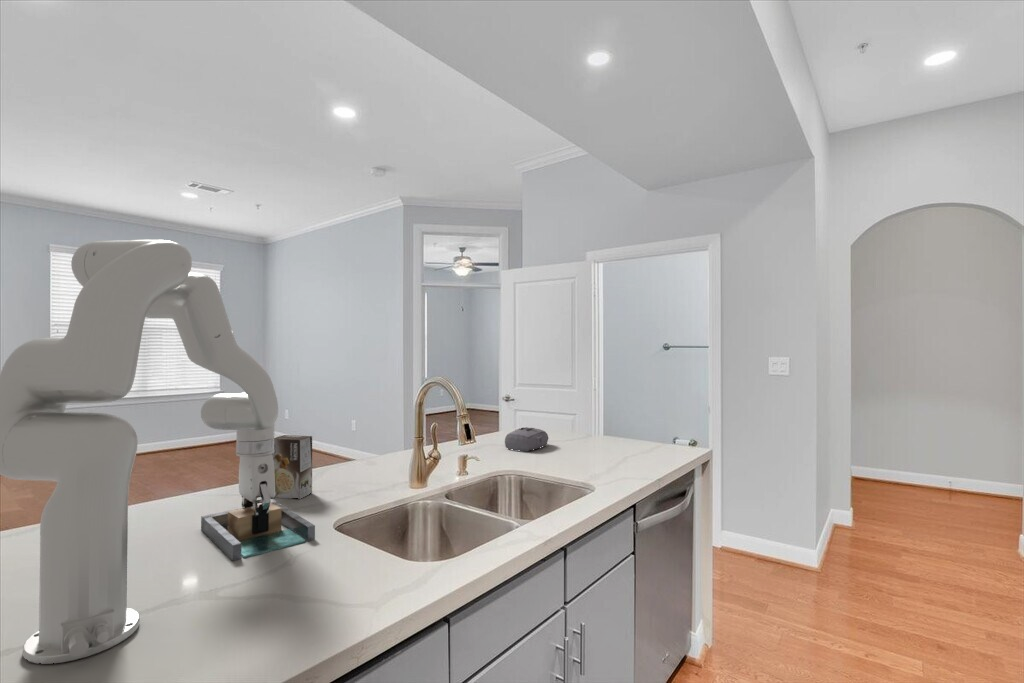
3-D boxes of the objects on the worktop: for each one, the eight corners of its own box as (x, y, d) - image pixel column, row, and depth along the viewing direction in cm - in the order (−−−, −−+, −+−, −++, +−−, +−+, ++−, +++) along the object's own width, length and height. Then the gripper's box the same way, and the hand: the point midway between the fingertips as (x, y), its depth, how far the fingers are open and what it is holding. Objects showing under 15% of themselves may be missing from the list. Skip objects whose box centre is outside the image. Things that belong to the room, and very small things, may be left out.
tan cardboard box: (281, 530, 115) (281, 508, 115) (238, 541, 108) (238, 518, 108) (269, 524, 119) (269, 502, 119) (227, 534, 112) (227, 511, 112)
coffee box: (313, 493, 144) (314, 435, 144) (300, 499, 138) (300, 439, 138) (283, 491, 146) (284, 434, 146) (269, 497, 139) (270, 438, 140)
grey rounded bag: (532, 454, 199) (555, 445, 216) (532, 432, 199) (555, 425, 216) (499, 449, 207) (524, 441, 224) (499, 429, 207) (524, 422, 224)
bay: (314, 539, 110) (315, 525, 110) (232, 561, 99) (232, 545, 99) (275, 513, 126) (275, 501, 126) (201, 529, 115) (201, 516, 115)
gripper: (287, 450, 110) (287, 534, 110) (260, 439, 122) (259, 515, 122) (250, 455, 105) (249, 544, 105) (225, 443, 117) (224, 522, 117)
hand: (254, 527), depth 114 cm, fingers closed on tan cardboard box, 6 cm apart
